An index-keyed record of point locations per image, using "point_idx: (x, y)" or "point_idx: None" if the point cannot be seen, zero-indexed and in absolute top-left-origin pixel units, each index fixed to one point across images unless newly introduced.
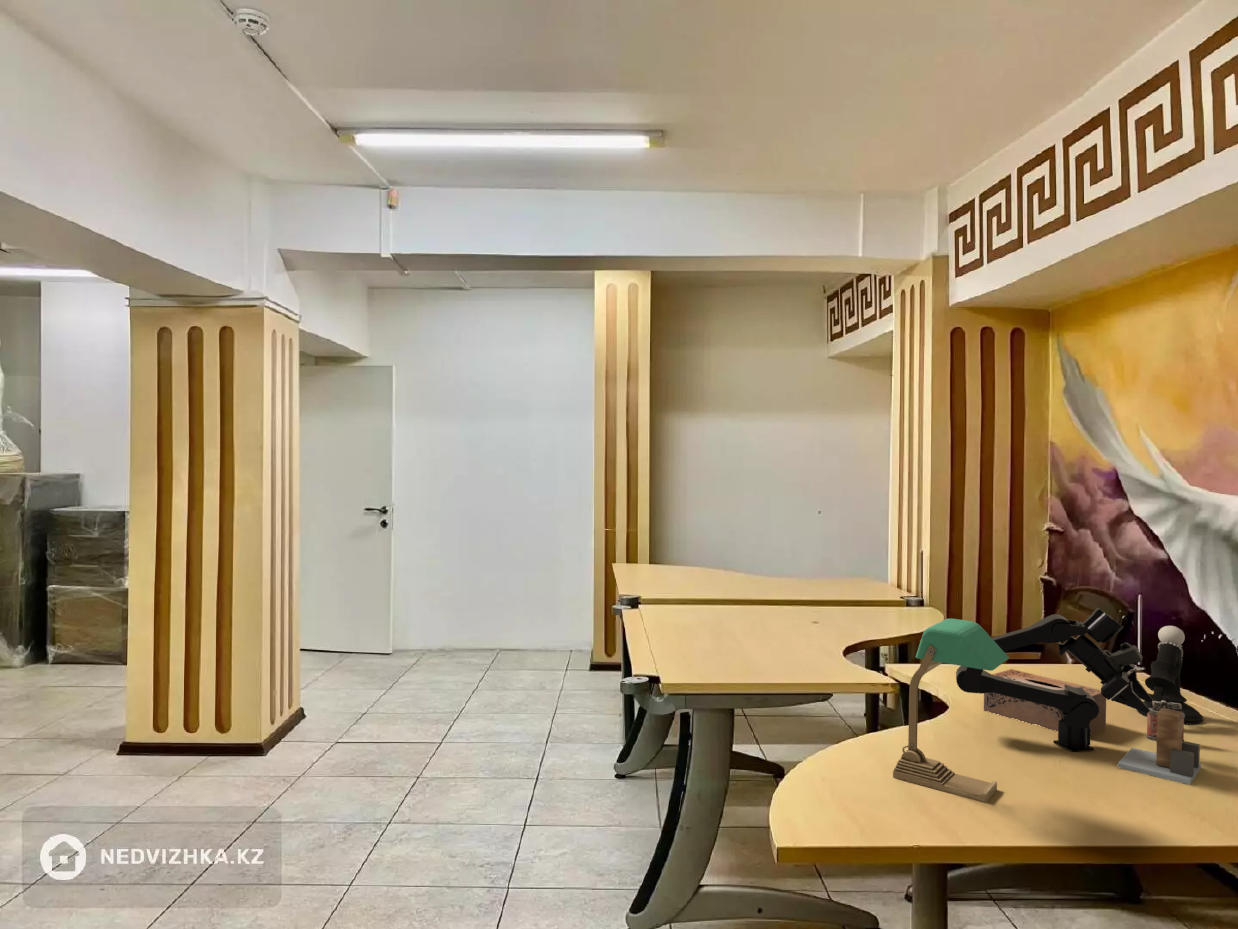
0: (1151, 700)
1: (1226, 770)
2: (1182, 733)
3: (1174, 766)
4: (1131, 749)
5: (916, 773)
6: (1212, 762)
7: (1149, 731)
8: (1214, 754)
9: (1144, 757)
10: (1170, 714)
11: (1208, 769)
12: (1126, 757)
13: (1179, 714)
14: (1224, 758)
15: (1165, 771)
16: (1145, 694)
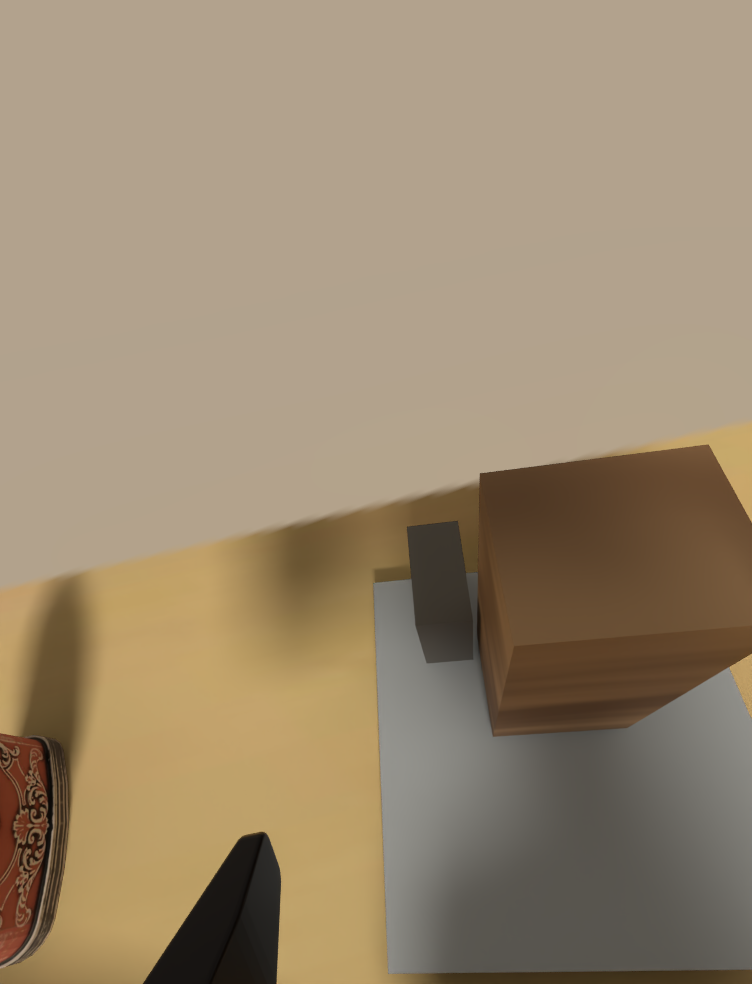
0: (268, 846)
1: (328, 521)
2: (9, 736)
3: None
4: (437, 964)
5: None
6: (260, 579)
7: (4, 943)
8: (139, 600)
9: (534, 831)
10: (715, 506)
11: (371, 566)
12: (660, 943)
13: (613, 460)
14: (172, 562)
15: None
16: (240, 968)
